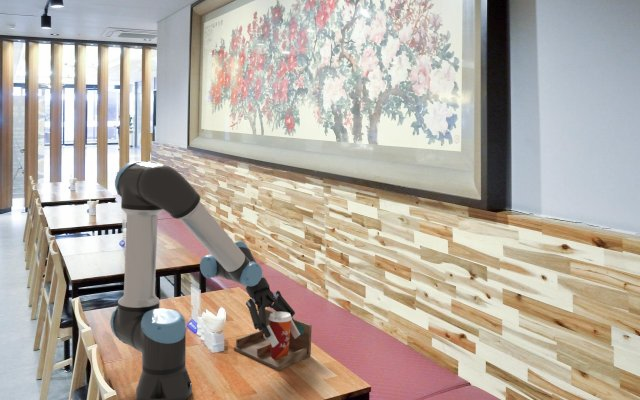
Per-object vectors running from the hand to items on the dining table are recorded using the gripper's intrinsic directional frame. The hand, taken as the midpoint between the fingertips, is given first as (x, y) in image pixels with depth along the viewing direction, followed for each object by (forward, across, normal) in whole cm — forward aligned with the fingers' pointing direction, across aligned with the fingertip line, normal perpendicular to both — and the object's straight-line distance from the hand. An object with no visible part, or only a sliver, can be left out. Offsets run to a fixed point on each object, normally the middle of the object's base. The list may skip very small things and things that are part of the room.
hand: (286, 340), depth 171 cm
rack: (-1, -2, -11) cm, 11 cm away
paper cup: (+2, 0, -7) cm, 7 cm away
